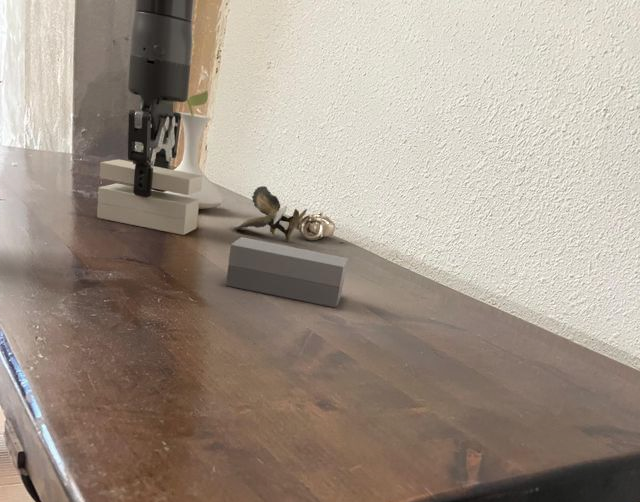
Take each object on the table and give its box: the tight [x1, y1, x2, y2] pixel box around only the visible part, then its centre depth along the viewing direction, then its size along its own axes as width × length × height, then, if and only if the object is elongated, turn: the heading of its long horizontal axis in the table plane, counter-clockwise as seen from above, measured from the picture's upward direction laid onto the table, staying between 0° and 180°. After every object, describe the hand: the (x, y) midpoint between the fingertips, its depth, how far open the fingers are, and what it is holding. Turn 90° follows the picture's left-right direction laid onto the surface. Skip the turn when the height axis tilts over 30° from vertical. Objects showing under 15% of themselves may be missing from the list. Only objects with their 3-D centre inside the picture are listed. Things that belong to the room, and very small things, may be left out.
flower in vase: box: [153, 38, 223, 210], centre depth 115 cm, size 13×11×25 cm
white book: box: [99, 158, 202, 195], centre depth 100 cm, size 12×6×2 cm, turn 83°
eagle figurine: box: [233, 185, 308, 243], centre depth 108 cm, size 8×7×9 cm
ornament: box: [294, 211, 336, 241], centre depth 113 cm, size 8×7×4 cm
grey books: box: [225, 236, 349, 309], centre depth 80 cm, size 12×5×4 cm, turn 83°
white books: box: [96, 182, 199, 236], centre depth 101 cm, size 12×6×4 cm, turn 83°
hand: (150, 193), depth 101 cm, fingers closed on white book, 6 cm apart
